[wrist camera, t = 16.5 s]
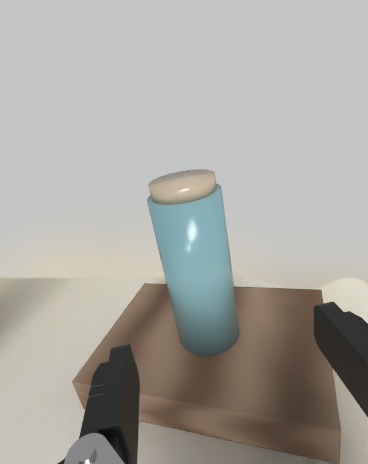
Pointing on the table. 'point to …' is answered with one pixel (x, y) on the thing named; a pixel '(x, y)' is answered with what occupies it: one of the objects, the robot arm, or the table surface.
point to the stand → (233, 373)
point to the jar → (195, 259)
